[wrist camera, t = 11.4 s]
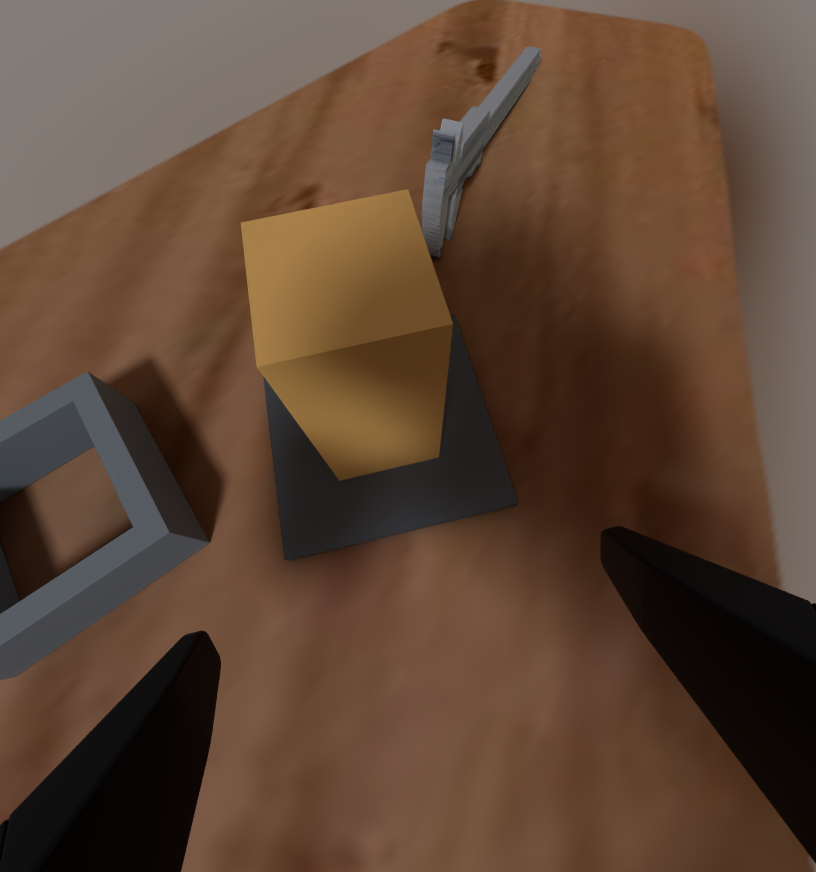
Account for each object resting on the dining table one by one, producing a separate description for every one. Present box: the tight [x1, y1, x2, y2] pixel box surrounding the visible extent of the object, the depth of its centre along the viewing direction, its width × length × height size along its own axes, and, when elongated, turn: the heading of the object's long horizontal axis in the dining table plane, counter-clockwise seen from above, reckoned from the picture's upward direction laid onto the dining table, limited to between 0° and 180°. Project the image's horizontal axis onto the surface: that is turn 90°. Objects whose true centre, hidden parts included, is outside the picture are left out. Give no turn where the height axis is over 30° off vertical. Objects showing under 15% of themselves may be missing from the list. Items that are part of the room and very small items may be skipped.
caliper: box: [422, 46, 542, 258], centre depth 24 cm, size 20×1×6 cm, turn 157°
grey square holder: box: [0, 372, 210, 680], centre depth 17 cm, size 8×8×3 cm
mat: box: [263, 315, 519, 561], centre depth 19 cm, size 10×10×1 cm
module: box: [241, 189, 453, 481], centre depth 14 cm, size 4×4×10 cm
